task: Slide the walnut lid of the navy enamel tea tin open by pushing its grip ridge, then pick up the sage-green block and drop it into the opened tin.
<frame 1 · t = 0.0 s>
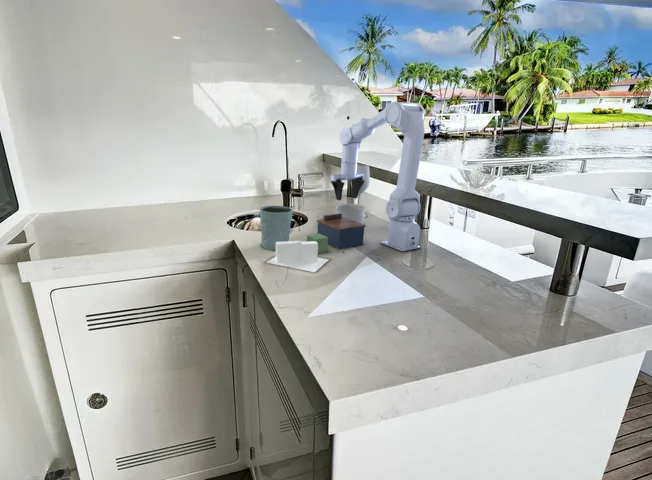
hand: (346, 199, 144), 10 cm above the worktop, tool pointing down, fingers open, 7 cm apart
block: (316, 250, 118), on the worktop
teacup: (347, 226, 145), on the worktop
tin: (339, 241, 127), on the worktop
wineglass: (357, 216, 161), on the worktop
twin cubes on base: (298, 261, 109), on the worktop
teal plant pot: (275, 246, 121), on the worktop
tin lid: (340, 220, 124), point 7 cm above the worktop, slide at 0.0 cm
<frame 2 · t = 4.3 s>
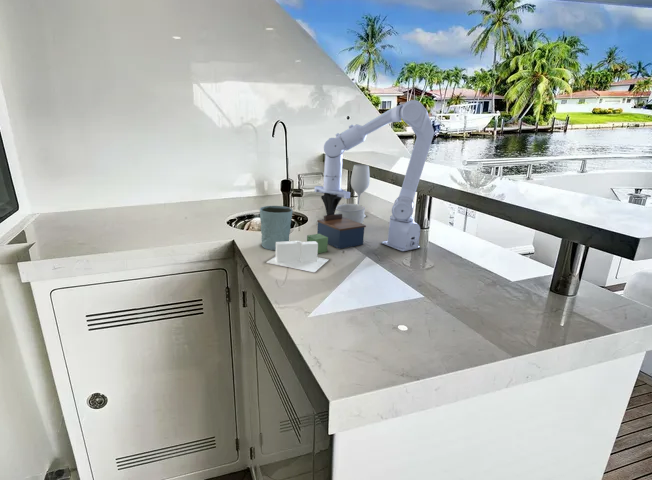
hand: (330, 216, 129), 7 cm above the worktop, tool pointing down, fingers closed
tin lid: (341, 221, 124), point 7 cm above the worktop, slide at 0.2 cm, touching gripper
everything else where it was.
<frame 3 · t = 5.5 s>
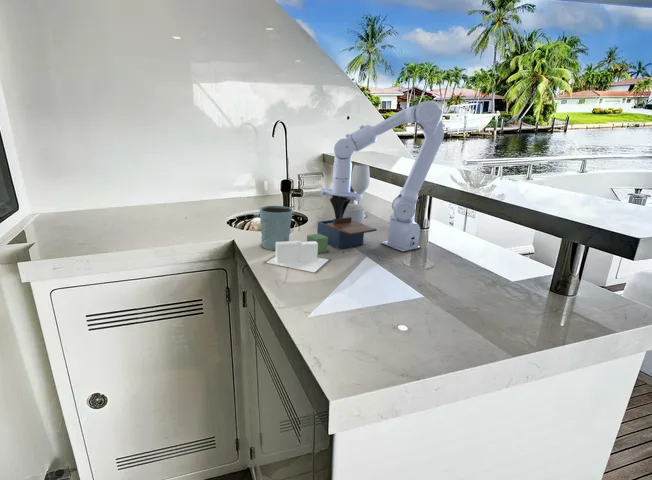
hand: (339, 219, 125), 7 cm above the worktop, tool pointing down, fingers closed
tin lid: (350, 224, 120), point 7 cm above the worktop, slide at 5.1 cm, touching gripper
everything else where it was.
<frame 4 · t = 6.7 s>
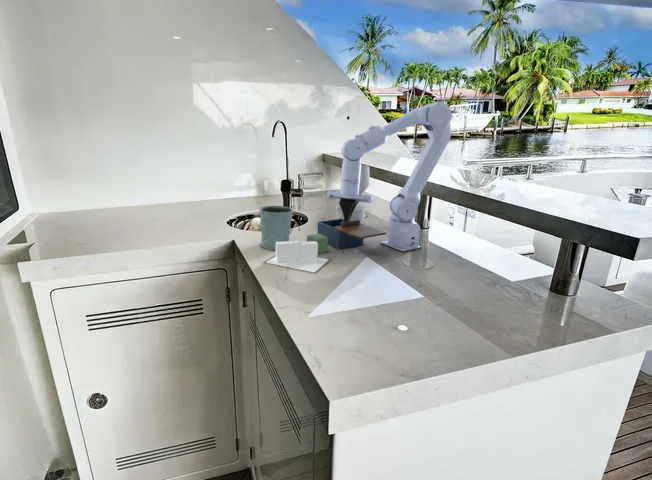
hand: (347, 222, 122), 7 cm above the worktop, tool pointing down, fingers closed
tin lid: (359, 227, 117), point 7 cm above the worktop, slide at 9.2 cm, touching gripper
everything else where it was.
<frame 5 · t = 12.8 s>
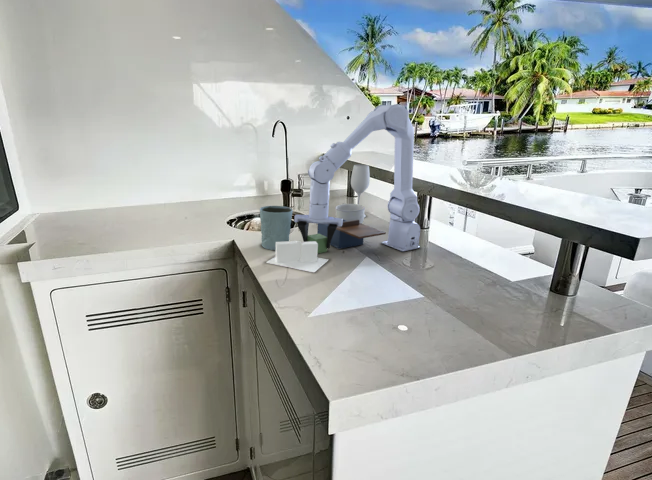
hand: (317, 246, 117), 1 cm above the worktop, tool pointing down, fingers closed on block, 6 cm apart
block: (316, 250, 118), on the worktop, touching gripper
tin lid: (359, 227, 117), point 7 cm above the worktop, slide at 9.1 cm
everything else where it was.
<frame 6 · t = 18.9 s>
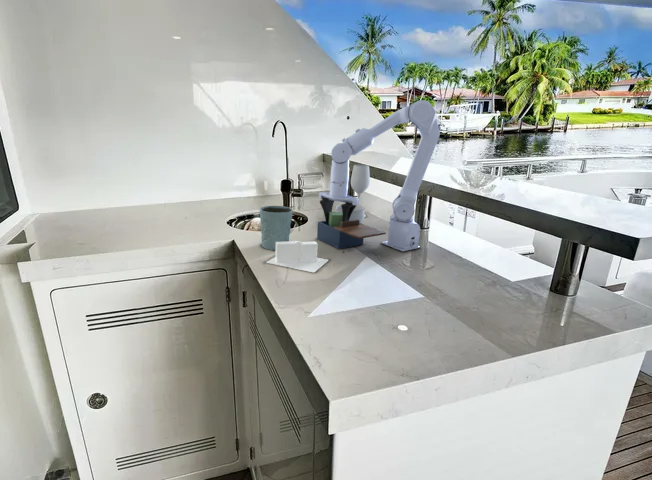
hand: (336, 222, 126), 6 cm above the worktop, tool pointing down, fingers closed on block, 6 cm apart
block: (336, 226, 127), point 5 cm above the worktop, touching gripper
everything else where it was.
when the fingers open (8 cm above the worktop, at t = 35.3 s): block drops 6 cm, resting on tin.
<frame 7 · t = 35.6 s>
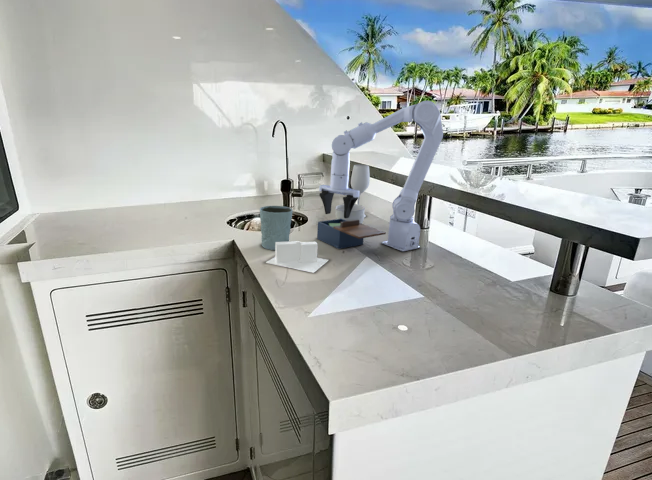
hand: (337, 215, 126), 8 cm above the worktop, tool pointing down, fingers open, 7 cm apart
block: (335, 238, 128), point 1 cm above the worktop, touching tin
everything else where it was.
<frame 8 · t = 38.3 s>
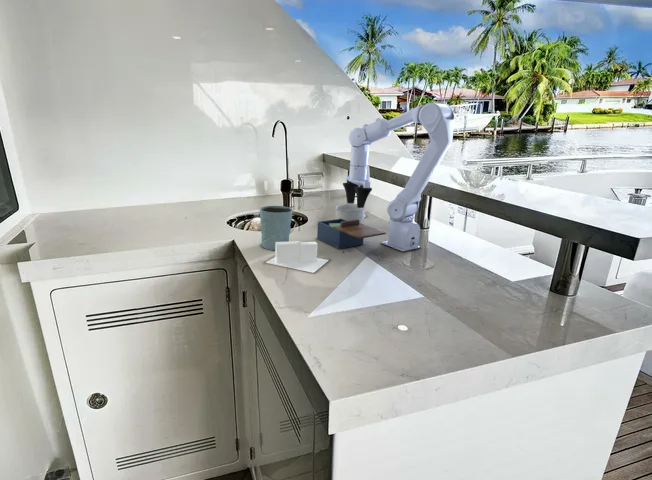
hand: (355, 205, 132), 10 cm above the worktop, tool pointing down, fingers open, 7 cm apart
nothing on the worktop moved.
at the end: tin lid slide at 9.1 cm; block inside the target area on the tin (2.2 cm from its centre), point 0.6 cm above the tin's base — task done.
